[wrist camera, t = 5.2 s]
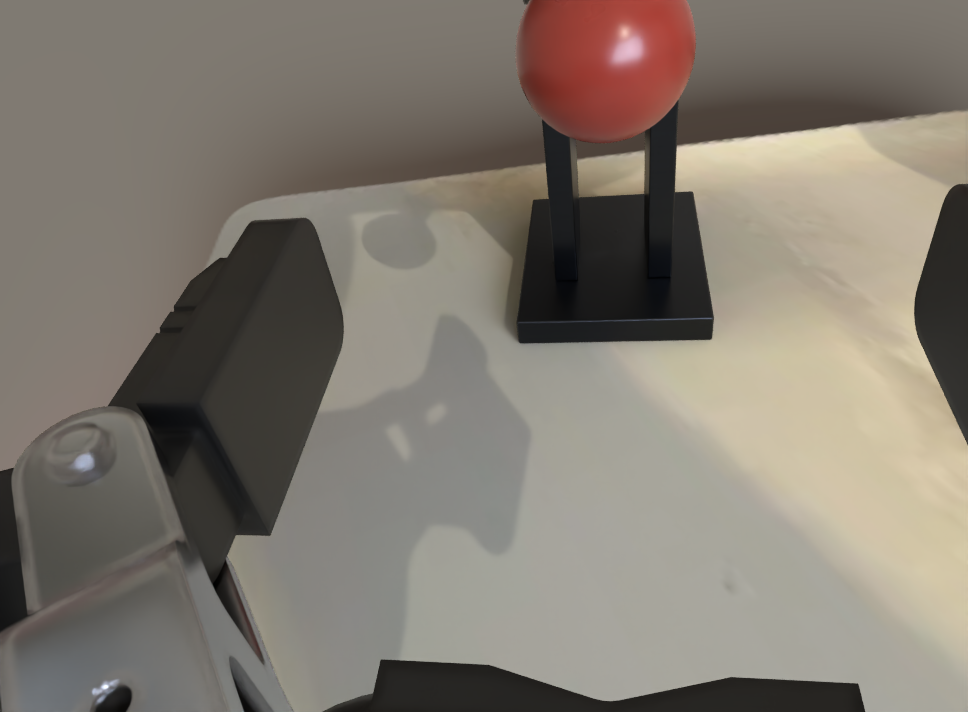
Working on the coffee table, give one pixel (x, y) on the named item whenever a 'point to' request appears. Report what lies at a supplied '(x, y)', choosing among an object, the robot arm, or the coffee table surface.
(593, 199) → the black lever stand
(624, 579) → the coffee table surface
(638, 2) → the red knobbed lever
